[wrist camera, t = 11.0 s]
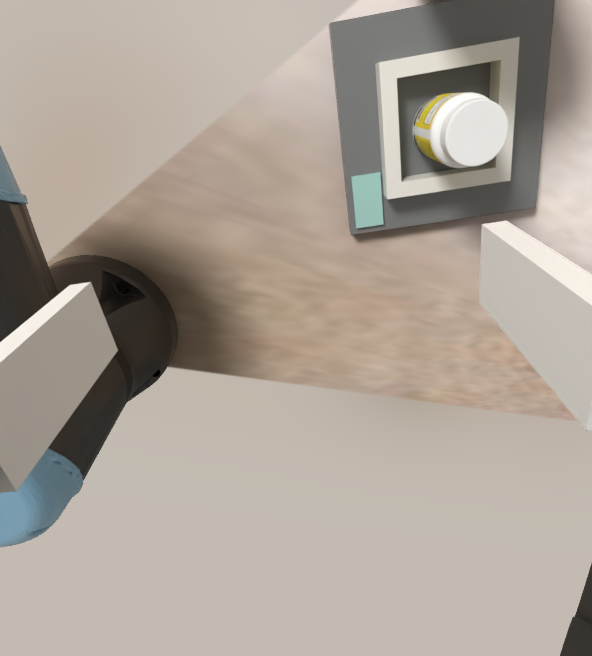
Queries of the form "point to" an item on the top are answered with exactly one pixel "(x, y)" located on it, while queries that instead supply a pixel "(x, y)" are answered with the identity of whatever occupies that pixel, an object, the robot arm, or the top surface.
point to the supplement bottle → (460, 129)
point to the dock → (426, 82)
